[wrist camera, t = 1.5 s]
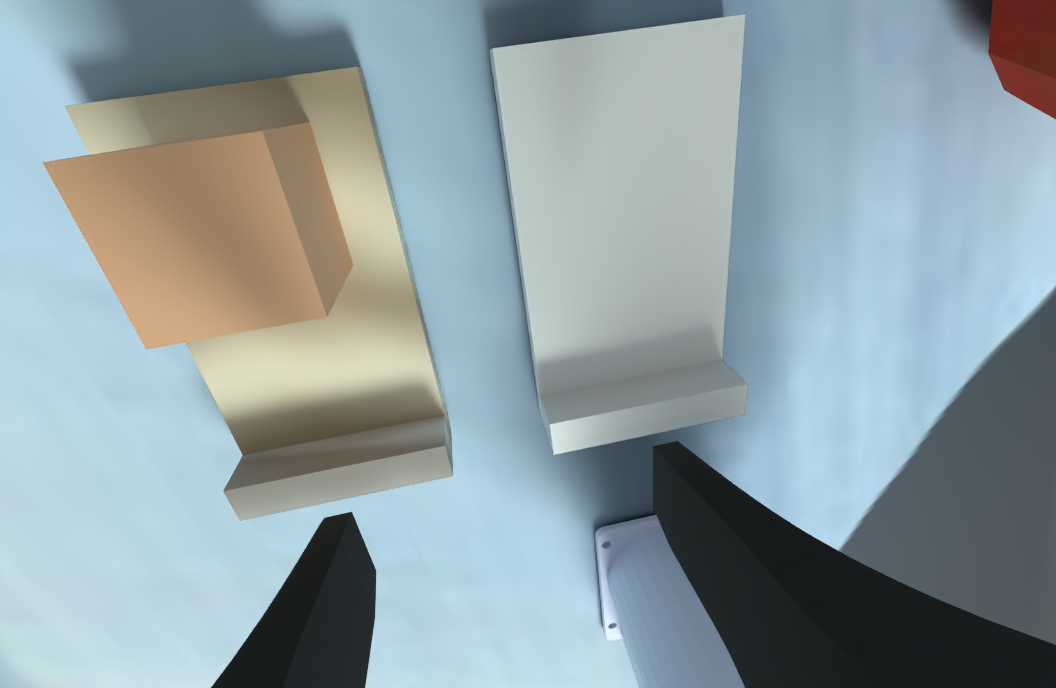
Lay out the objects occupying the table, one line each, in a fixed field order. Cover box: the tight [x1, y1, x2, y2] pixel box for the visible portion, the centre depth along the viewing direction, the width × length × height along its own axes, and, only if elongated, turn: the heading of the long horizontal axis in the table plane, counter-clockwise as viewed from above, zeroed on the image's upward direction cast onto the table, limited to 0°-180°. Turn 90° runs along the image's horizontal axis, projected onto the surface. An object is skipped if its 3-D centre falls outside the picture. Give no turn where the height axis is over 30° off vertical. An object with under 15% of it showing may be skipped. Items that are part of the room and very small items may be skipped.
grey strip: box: [489, 14, 748, 455], centre depth 18 cm, size 14×8×3 cm, turn 7°
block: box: [43, 122, 353, 349], centre depth 14 cm, size 4×4×4 cm
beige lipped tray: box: [65, 67, 453, 521], centre depth 17 cm, size 14×8×3 cm, turn 7°
